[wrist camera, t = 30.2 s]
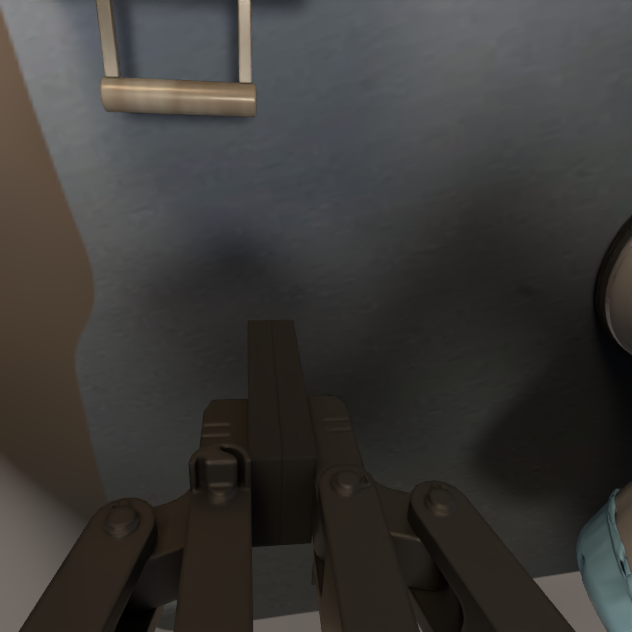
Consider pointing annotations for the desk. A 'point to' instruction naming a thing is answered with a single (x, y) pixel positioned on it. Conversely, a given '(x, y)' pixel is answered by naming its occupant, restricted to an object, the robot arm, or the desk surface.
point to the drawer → (176, 93)
